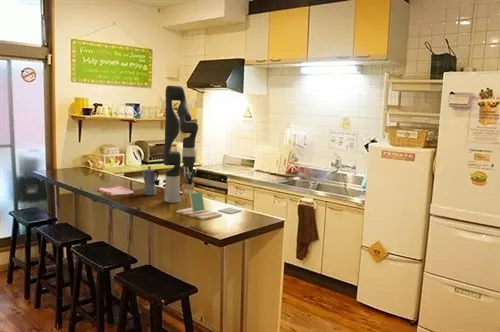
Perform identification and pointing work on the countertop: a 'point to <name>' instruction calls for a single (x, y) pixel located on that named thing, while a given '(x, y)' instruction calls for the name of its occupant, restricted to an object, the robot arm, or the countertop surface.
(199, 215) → the board
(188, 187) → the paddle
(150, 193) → the moka pot
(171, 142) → the robot arm
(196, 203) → the tile
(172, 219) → the countertop surface
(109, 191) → the dish towel
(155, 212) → the countertop surface
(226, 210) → the mat
